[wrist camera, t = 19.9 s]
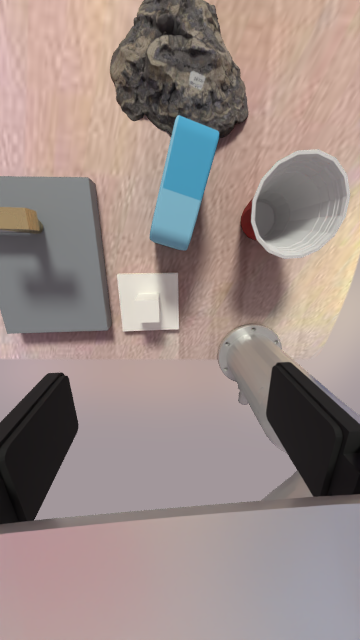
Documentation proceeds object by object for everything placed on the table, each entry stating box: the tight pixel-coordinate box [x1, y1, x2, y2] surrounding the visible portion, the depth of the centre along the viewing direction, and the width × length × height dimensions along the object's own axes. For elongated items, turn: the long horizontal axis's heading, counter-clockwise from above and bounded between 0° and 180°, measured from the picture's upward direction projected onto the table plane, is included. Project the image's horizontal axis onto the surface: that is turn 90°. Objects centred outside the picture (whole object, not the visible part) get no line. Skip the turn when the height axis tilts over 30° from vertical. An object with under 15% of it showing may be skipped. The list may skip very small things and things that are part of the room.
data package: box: [150, 115, 219, 250], centre depth 27 cm, size 12×4×12 cm, turn 164°
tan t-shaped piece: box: [0, 207, 43, 234], centre depth 25 cm, size 11×2×9 cm, turn 89°
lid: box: [117, 272, 179, 331], centre depth 35 cm, size 10×10×6 cm
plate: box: [0, 176, 112, 334], centre depth 33 cm, size 22×16×3 cm
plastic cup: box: [241, 149, 350, 259], centre depth 29 cm, size 11×11×12 cm
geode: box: [110, 0, 248, 137], centre depth 26 cm, size 19×4×15 cm
